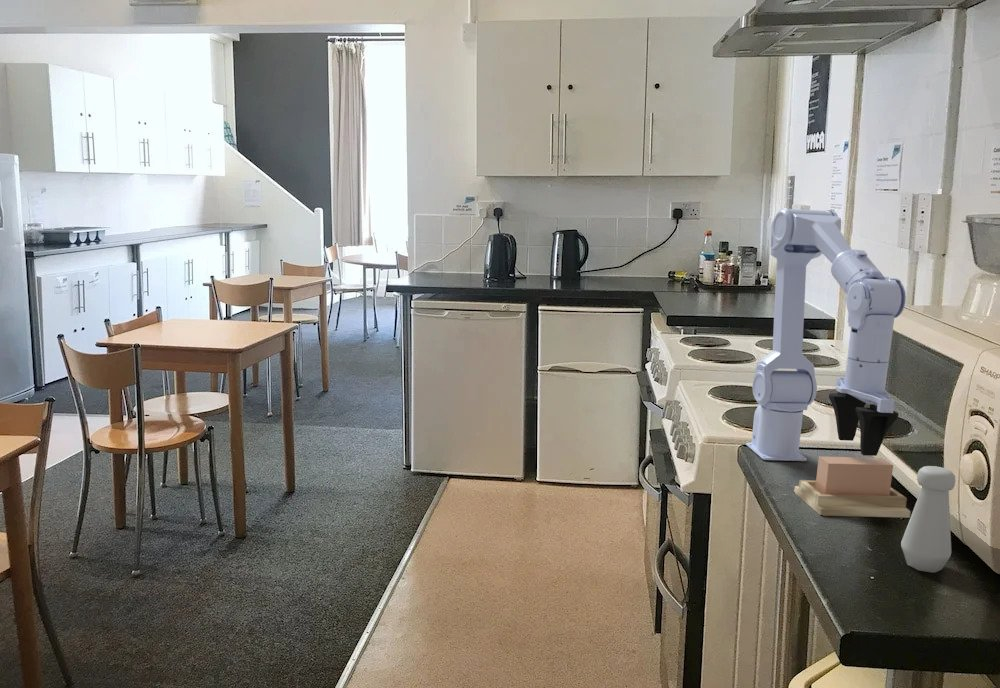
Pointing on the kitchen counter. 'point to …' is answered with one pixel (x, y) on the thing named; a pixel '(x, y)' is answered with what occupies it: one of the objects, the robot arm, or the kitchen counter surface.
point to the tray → (852, 503)
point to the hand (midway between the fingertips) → (857, 447)
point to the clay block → (853, 476)
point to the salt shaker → (930, 521)
